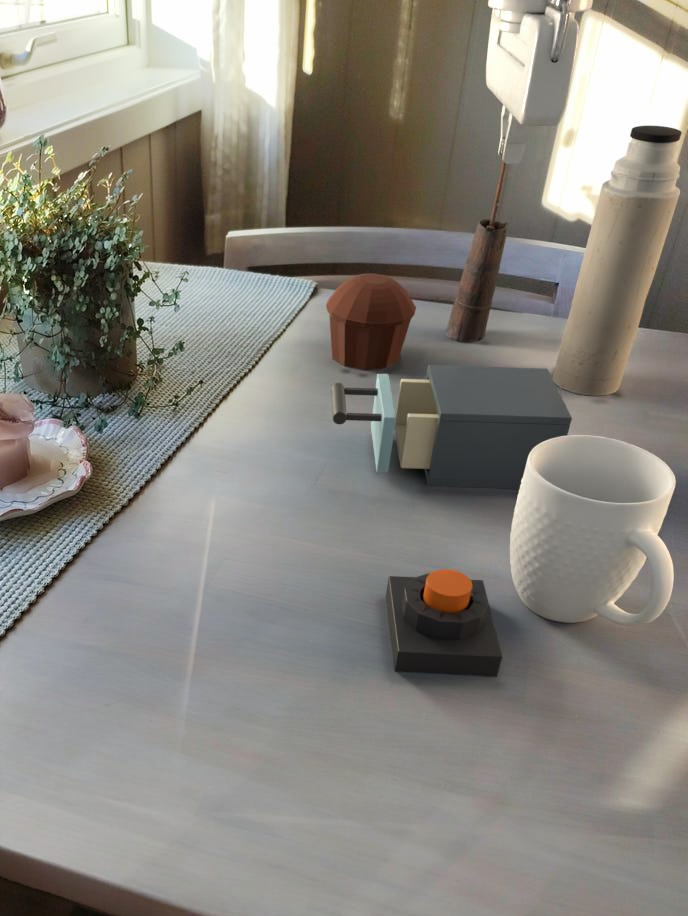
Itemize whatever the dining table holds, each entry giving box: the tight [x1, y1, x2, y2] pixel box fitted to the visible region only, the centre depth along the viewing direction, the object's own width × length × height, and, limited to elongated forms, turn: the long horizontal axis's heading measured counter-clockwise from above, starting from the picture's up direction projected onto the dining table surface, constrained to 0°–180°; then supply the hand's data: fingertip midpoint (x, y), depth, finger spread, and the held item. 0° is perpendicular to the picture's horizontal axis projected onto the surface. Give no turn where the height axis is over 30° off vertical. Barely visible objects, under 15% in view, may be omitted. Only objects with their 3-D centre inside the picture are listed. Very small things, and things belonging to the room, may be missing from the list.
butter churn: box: [445, 161, 509, 343], centre depth 113 cm, size 9×10×28 cm
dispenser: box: [424, 364, 573, 490], centre depth 94 cm, size 13×12×8 cm
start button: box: [423, 568, 473, 613], centre depth 72 cm, size 4×4×2 cm
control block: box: [385, 572, 503, 678], centre depth 73 cm, size 8×10×4 cm
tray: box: [330, 373, 439, 474], centre depth 95 cm, size 16×10×6 cm, turn 85°
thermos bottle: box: [552, 125, 682, 397], centre depth 103 cm, size 8×8×28 cm
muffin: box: [325, 272, 417, 371], centre depth 115 cm, size 12×11×10 cm
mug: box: [509, 434, 677, 627], centre depth 72 cm, size 15×11×13 cm
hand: (509, 160), depth 87 cm, fingers closed
